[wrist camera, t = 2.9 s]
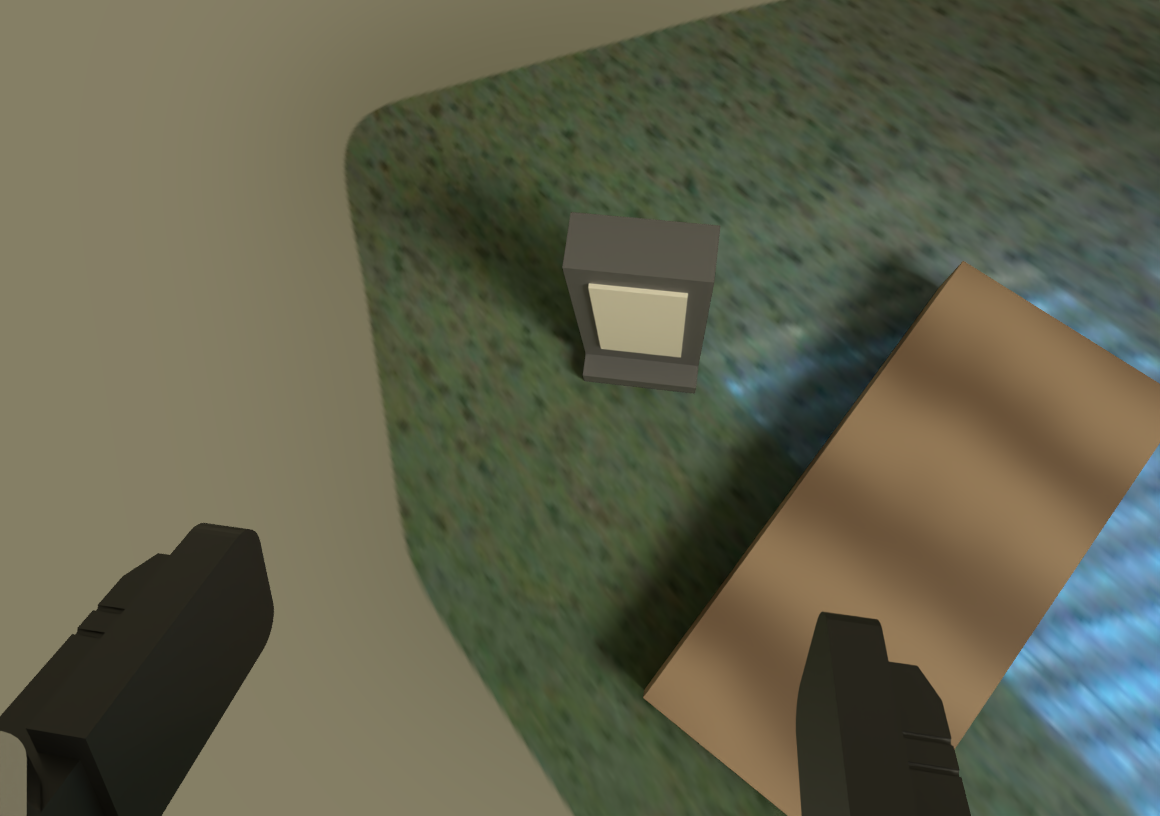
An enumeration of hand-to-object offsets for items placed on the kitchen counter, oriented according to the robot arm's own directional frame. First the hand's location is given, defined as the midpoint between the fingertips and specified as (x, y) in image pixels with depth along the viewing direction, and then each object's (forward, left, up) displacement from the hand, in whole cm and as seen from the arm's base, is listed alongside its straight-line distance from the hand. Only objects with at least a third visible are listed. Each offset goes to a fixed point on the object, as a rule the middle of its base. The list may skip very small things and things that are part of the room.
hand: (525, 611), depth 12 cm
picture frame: (-10, -6, -25) cm, 28 cm away
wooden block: (-9, +8, -25) cm, 28 cm away
